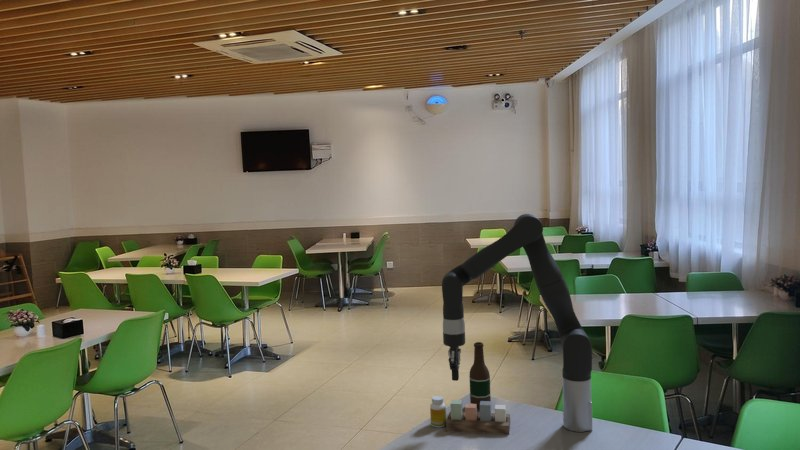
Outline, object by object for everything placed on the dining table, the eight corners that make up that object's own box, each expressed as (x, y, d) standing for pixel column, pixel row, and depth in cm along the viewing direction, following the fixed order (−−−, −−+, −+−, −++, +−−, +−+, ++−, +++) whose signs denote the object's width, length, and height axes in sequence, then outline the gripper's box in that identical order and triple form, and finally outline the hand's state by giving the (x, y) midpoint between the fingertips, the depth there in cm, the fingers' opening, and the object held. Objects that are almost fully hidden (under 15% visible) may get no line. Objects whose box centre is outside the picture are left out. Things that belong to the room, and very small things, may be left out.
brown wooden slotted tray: (510, 422, 213) (510, 413, 213) (509, 434, 203) (508, 425, 203) (450, 419, 218) (450, 411, 217) (446, 431, 208) (446, 422, 208)
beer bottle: (467, 408, 227) (465, 345, 225) (472, 400, 234) (470, 339, 232) (488, 410, 224) (486, 346, 222) (492, 402, 231) (491, 340, 229)
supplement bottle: (446, 427, 211) (445, 400, 210) (431, 428, 211) (430, 401, 210) (445, 421, 216) (444, 394, 215) (430, 421, 216) (429, 395, 215)
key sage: (462, 416, 213) (462, 400, 213) (461, 421, 210) (460, 404, 209) (452, 416, 214) (451, 399, 214) (451, 420, 211) (450, 403, 210)
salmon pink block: (477, 420, 212) (476, 403, 212) (476, 424, 209) (475, 407, 208) (466, 420, 213) (466, 403, 213) (465, 424, 210) (465, 407, 209)
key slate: (491, 418, 211) (491, 401, 211) (490, 422, 208) (490, 405, 207) (481, 417, 212) (480, 400, 211) (480, 421, 208) (479, 404, 208)
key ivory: (506, 422, 210) (505, 405, 210) (505, 426, 207) (505, 409, 206) (495, 421, 211) (495, 404, 210) (495, 425, 207) (494, 408, 207)
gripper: (462, 336, 202) (464, 387, 203) (466, 325, 215) (468, 373, 216) (440, 335, 204) (441, 386, 205) (445, 325, 216) (447, 373, 218)
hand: (455, 379), depth 211 cm, fingers closed
